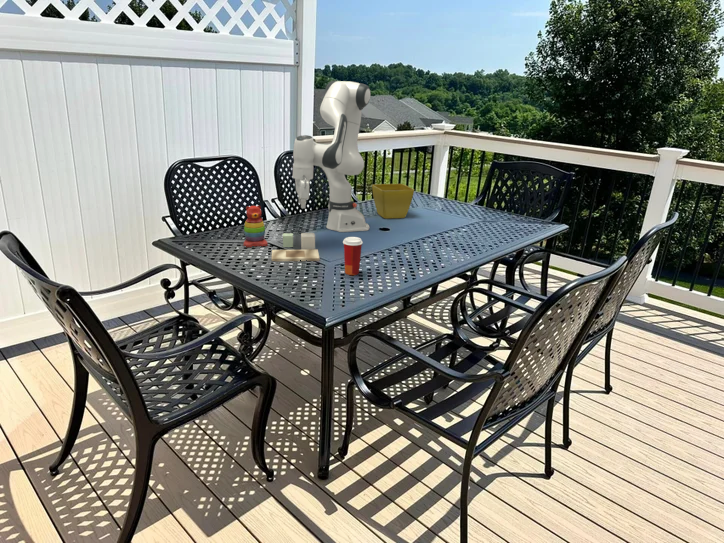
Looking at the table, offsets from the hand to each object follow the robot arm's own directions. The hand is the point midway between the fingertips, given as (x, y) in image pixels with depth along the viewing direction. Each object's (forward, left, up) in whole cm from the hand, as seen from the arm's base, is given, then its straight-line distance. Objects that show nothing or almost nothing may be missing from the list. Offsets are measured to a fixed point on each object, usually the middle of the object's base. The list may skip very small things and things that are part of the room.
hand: (301, 205), depth 226 cm
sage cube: (+6, -3, -20) cm, 21 cm away
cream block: (-3, -1, -20) cm, 20 cm away
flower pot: (-53, -58, -20) cm, 81 cm away
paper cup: (-19, +33, -20) cm, 43 cm away
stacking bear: (+21, -7, -20) cm, 30 cm away
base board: (+3, +12, -20) cm, 23 cm away
